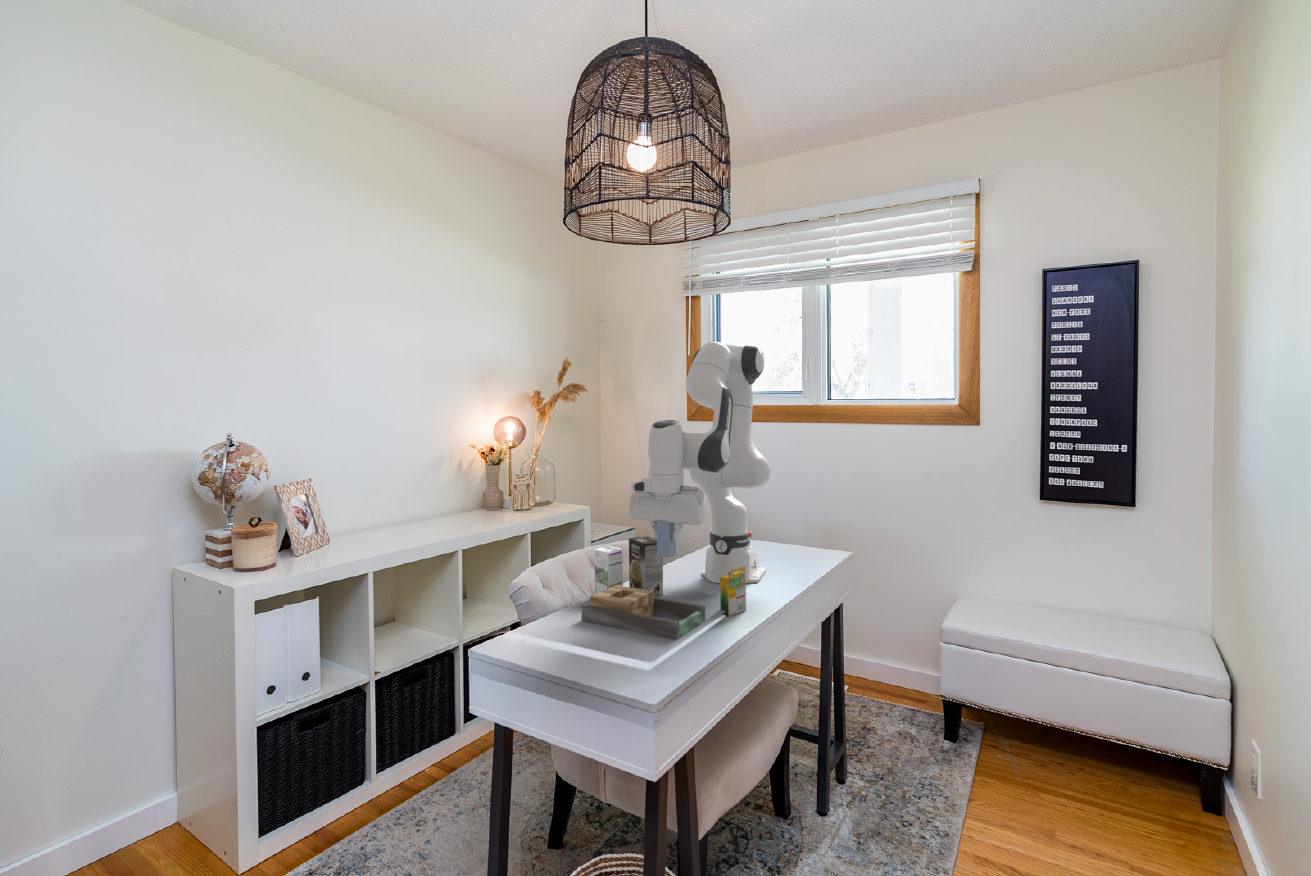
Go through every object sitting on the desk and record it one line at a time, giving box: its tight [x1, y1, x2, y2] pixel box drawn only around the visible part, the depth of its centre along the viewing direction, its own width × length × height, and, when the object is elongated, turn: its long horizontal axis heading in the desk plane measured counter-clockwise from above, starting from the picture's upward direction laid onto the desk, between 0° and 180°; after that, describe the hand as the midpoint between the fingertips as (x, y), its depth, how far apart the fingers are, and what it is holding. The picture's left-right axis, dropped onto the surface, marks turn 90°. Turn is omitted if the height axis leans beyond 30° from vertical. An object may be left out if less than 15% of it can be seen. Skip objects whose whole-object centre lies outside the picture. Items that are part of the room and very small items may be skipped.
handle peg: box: [656, 520, 677, 559], centre depth 161 cm, size 4×4×10 cm
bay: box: [580, 596, 706, 641], centre depth 156 cm, size 14×26×5 cm, turn 59°
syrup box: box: [594, 545, 624, 594], centre depth 176 cm, size 6×6×14 cm
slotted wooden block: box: [589, 585, 655, 616], centre depth 159 cm, size 11×11×6 cm
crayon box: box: [719, 566, 747, 617], centre depth 165 cm, size 7×3×12 cm, turn 134°
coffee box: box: [628, 535, 664, 597], centre depth 180 cm, size 9×6×16 cm
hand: (666, 539), depth 162 cm, fingers closed on handle peg, 3 cm apart
